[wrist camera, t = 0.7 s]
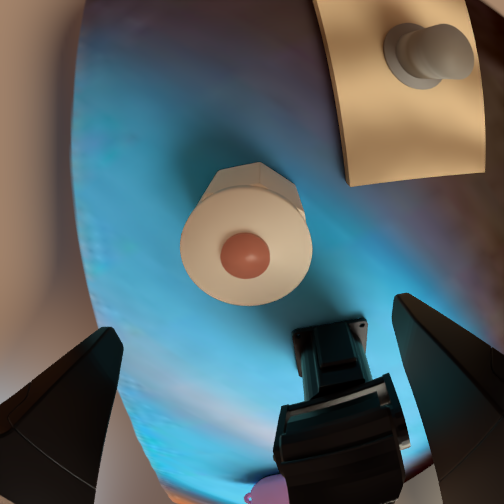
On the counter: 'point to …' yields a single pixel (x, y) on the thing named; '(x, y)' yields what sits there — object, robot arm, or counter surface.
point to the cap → (247, 237)
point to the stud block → (404, 88)
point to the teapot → (269, 491)
